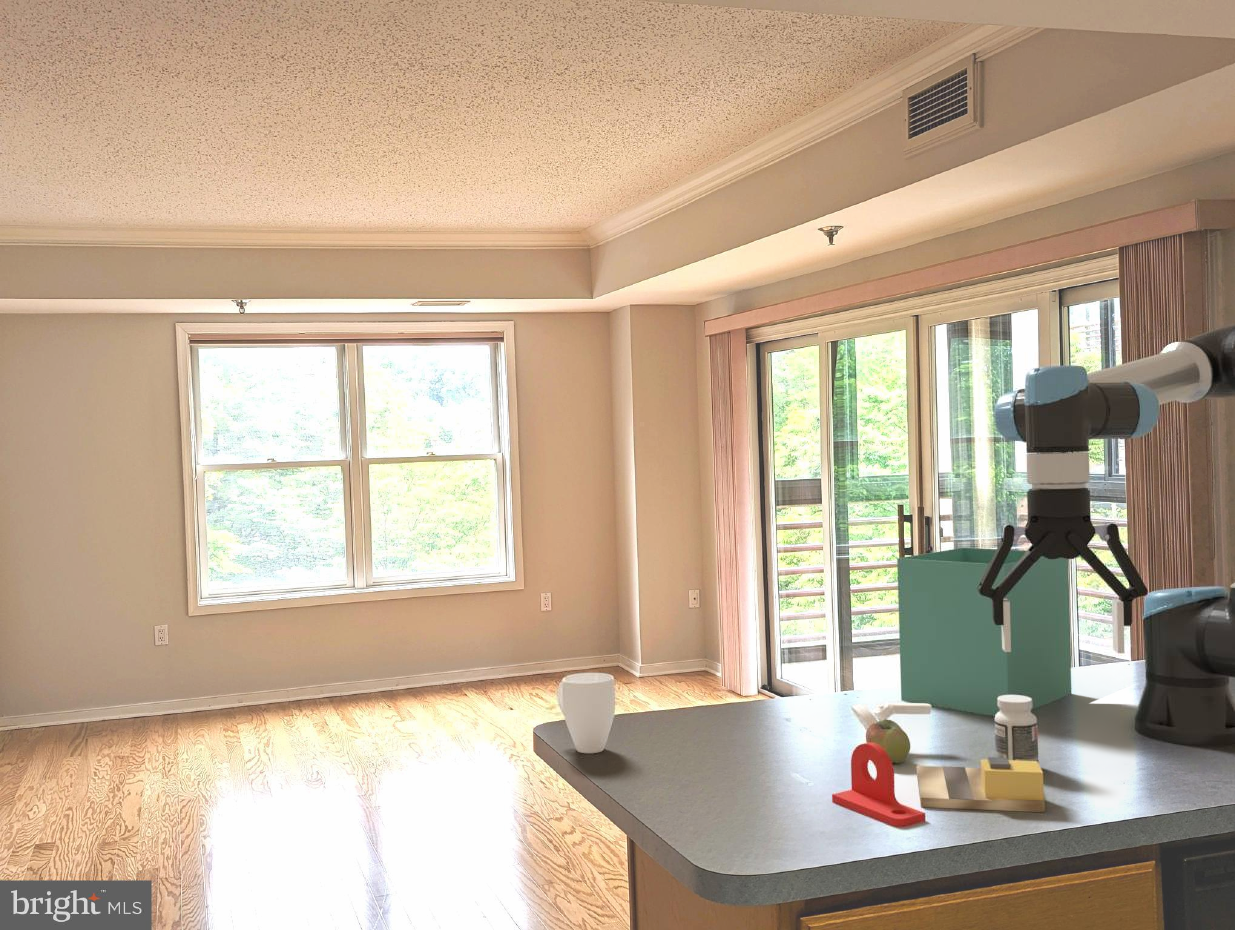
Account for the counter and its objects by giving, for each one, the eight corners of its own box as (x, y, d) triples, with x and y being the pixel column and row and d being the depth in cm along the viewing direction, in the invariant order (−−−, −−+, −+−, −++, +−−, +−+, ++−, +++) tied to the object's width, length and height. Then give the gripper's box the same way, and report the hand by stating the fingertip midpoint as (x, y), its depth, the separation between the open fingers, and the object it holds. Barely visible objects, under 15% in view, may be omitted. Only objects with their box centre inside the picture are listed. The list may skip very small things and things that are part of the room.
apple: (877, 751, 164) (876, 712, 164) (920, 762, 158) (919, 722, 157) (851, 758, 160) (849, 719, 160) (893, 770, 154) (892, 729, 154)
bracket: (832, 802, 141) (830, 743, 141) (858, 796, 144) (856, 737, 143) (898, 829, 131) (896, 764, 131) (925, 822, 133) (923, 758, 133)
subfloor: (1029, 778, 148) (1029, 769, 148) (1045, 812, 135) (1044, 802, 135) (916, 774, 152) (916, 765, 152) (921, 806, 138) (920, 797, 138)
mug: (627, 749, 169) (625, 677, 169) (584, 760, 164) (582, 685, 164) (582, 735, 178) (580, 666, 178) (540, 745, 173) (538, 674, 173)
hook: (935, 756, 160) (933, 709, 160) (852, 754, 163) (851, 707, 163) (930, 742, 168) (929, 698, 167) (852, 740, 170) (850, 696, 170)
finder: (1037, 787, 140) (1037, 756, 140) (1043, 800, 136) (1042, 767, 136) (981, 785, 142) (980, 754, 142) (985, 797, 137) (984, 765, 137)
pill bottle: (1042, 765, 154) (1040, 696, 154) (1034, 775, 149) (1032, 704, 149) (1001, 760, 157) (999, 692, 157) (991, 770, 153) (989, 700, 152)
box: (967, 680, 211) (963, 547, 210) (1071, 695, 195) (1067, 552, 195) (901, 701, 195) (897, 558, 195) (1009, 720, 180) (1004, 564, 179)
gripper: (1155, 483, 139) (1158, 646, 140) (954, 487, 145) (958, 644, 145) (1171, 485, 132) (1175, 657, 132) (959, 489, 138) (963, 655, 138)
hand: (1062, 651), depth 139 cm, fingers open, 13 cm apart
